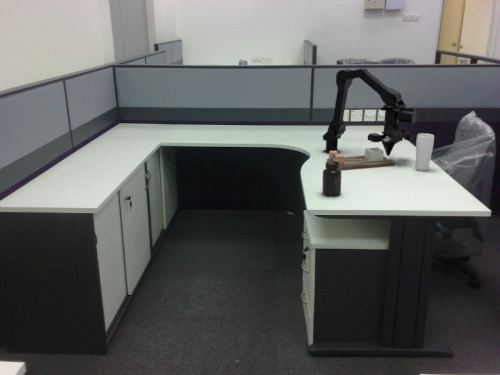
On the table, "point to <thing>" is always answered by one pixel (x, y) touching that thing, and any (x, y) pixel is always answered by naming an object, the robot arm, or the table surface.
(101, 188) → the table surface
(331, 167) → the supplement bottle
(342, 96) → the robot arm
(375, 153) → the block
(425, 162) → the drinking glass
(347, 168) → the track
